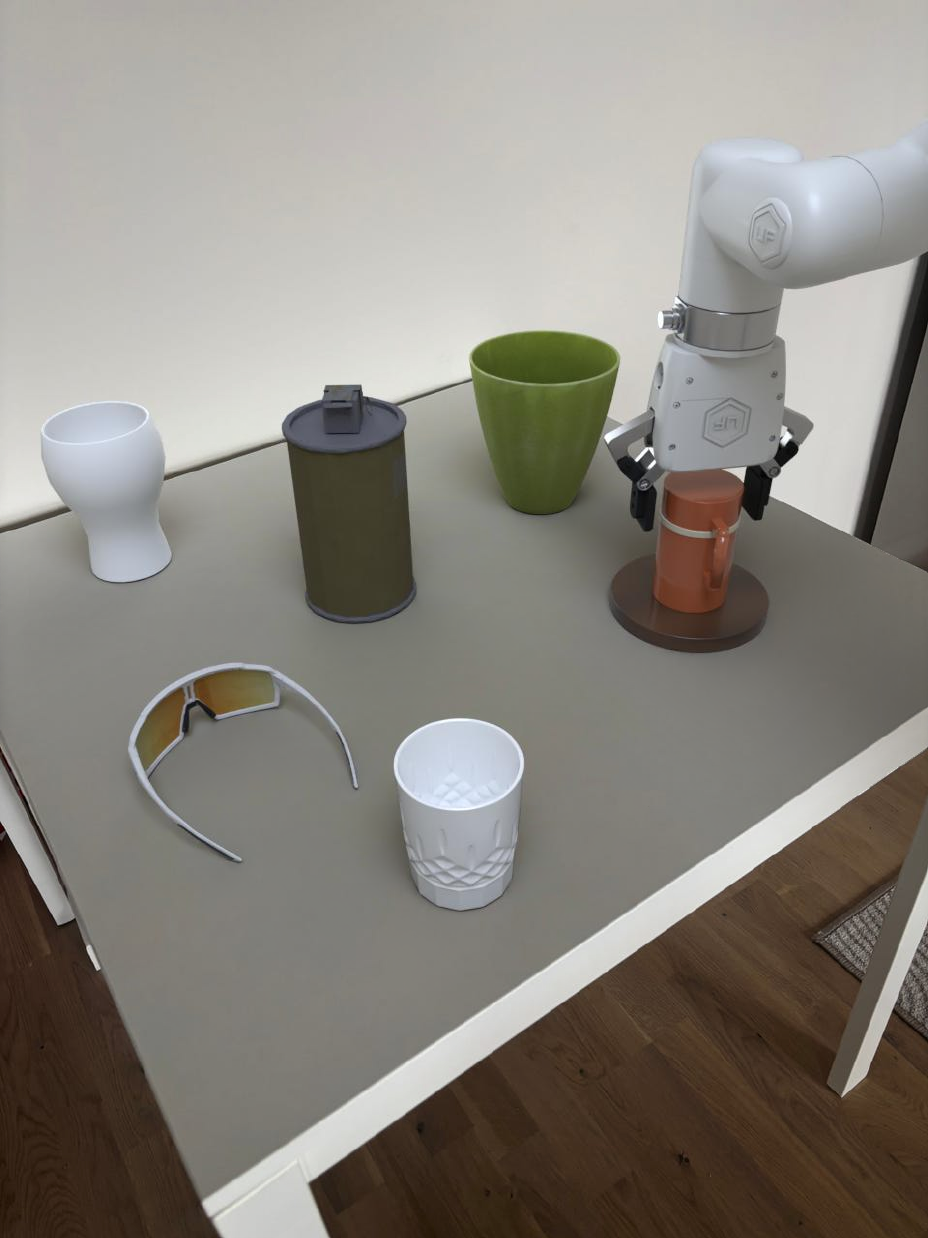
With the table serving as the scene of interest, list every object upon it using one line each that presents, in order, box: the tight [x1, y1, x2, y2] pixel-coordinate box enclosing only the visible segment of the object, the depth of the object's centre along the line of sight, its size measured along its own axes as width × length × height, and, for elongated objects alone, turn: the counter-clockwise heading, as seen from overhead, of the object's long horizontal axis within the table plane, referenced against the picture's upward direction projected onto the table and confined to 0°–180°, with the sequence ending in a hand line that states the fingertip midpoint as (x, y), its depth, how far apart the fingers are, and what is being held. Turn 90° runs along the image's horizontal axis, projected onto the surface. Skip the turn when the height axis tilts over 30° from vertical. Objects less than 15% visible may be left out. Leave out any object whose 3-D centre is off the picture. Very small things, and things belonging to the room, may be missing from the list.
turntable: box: [609, 553, 770, 654], centre depth 88 cm, size 14×14×2 cm
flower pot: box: [468, 329, 621, 515], centre depth 101 cm, size 15×15×16 cm
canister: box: [281, 384, 417, 624], centre depth 86 cm, size 11×10×20 cm
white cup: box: [393, 717, 525, 912], centre depth 61 cm, size 8×8×10 cm
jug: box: [652, 469, 744, 613], centre depth 84 cm, size 10×7×11 cm, turn 9°
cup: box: [40, 400, 173, 583], centre depth 92 cm, size 11×11×15 cm
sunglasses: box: [127, 662, 359, 863], centre depth 71 cm, size 14×15×5 cm
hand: (697, 518), depth 83 cm, fingers open, 9 cm apart
